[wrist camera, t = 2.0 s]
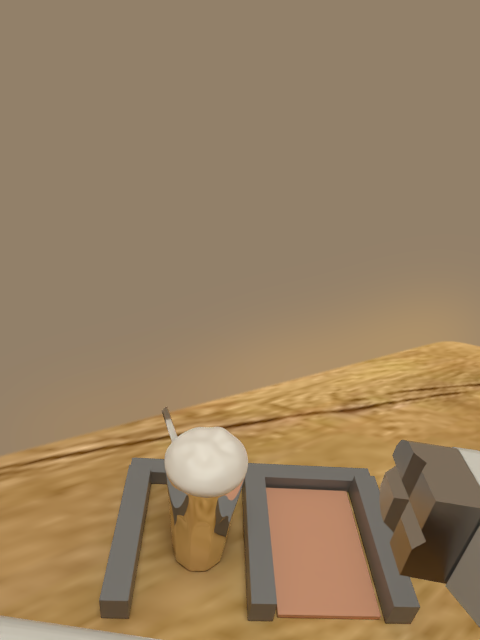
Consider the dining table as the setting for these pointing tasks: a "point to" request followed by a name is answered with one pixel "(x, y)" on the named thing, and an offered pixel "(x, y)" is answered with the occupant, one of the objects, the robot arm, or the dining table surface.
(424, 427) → the dining table surface
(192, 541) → the milkshake
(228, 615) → the dining table surface
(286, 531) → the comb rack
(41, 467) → the dining table surface
